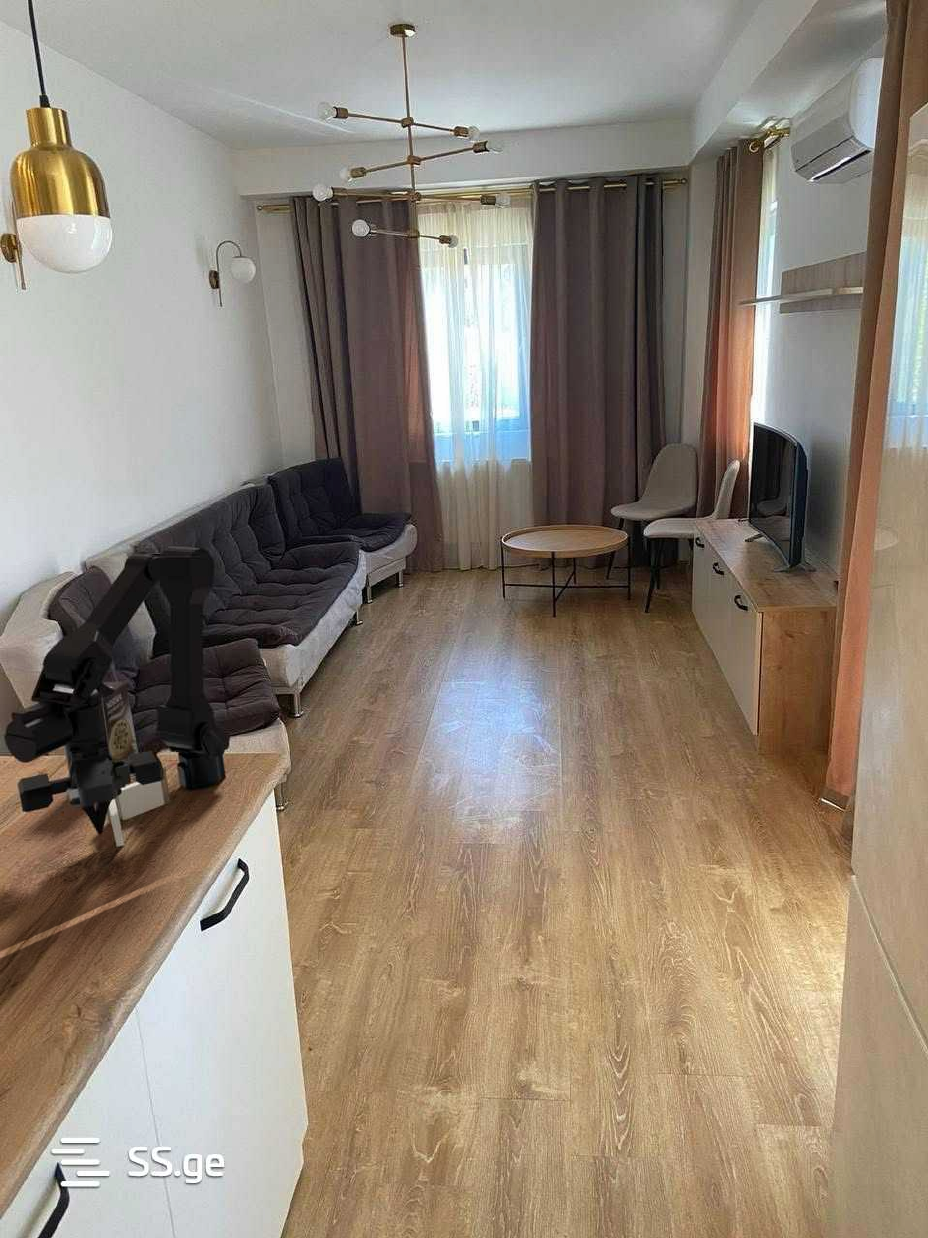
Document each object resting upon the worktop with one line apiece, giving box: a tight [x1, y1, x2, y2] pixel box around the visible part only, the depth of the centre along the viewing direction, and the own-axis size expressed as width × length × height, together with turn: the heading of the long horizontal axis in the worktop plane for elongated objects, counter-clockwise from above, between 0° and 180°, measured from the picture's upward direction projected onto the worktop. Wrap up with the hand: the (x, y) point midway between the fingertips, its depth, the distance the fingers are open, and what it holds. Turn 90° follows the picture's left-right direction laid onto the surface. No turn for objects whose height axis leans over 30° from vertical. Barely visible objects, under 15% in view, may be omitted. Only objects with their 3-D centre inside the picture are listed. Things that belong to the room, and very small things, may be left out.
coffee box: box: [102, 681, 139, 761], centre depth 152 cm, size 9×6×16 cm
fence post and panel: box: [106, 767, 172, 826], centre depth 141 cm, size 10×2×6 cm, turn 133°
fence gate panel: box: [109, 799, 125, 848], centre depth 134 cm, size 7×1×5 cm, turn 26°
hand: (100, 833), depth 132 cm, fingers closed
